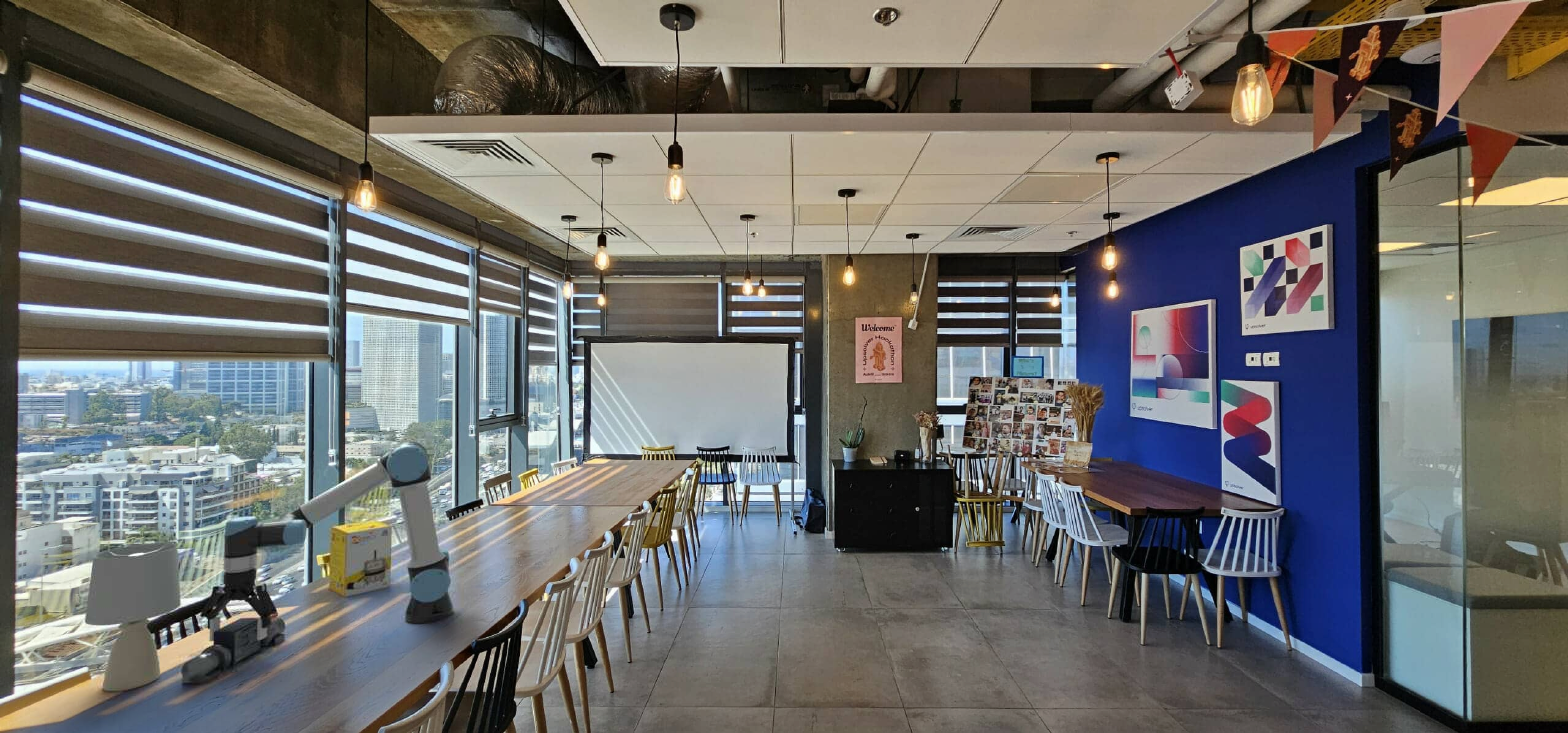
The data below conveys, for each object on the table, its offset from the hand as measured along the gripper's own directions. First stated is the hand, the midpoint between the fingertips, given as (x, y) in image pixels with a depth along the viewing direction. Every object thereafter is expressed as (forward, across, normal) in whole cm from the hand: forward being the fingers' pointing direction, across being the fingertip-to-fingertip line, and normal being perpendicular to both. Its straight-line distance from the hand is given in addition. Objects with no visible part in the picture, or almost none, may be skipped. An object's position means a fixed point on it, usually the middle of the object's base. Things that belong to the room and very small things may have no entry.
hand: (238, 639), depth 188 cm
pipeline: (+6, 0, 0) cm, 6 cm away
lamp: (+7, +18, +13) cm, 23 cm away
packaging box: (+7, +3, -66) cm, 66 cm away
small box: (+6, 0, 0) cm, 6 cm away
